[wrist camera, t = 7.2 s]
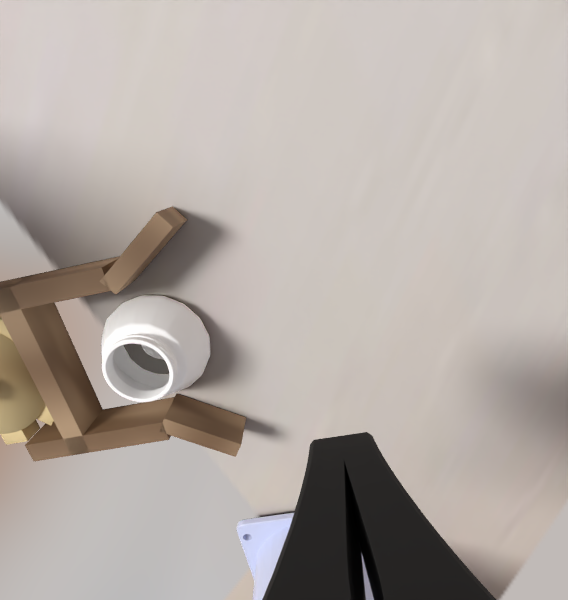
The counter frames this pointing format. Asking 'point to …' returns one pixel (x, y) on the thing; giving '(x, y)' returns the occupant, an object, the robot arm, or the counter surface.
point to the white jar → (153, 347)
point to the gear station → (71, 374)
